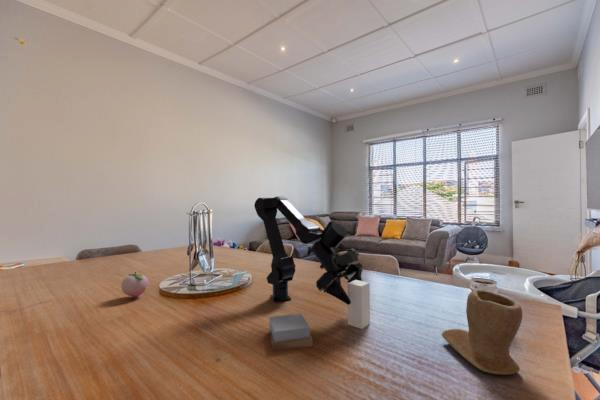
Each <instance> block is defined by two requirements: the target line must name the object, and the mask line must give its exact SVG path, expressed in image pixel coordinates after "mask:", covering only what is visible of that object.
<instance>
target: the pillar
mask: <svg viewBox="0 0 600 400" xmlns="http://www.w3.org/2000/svg"><path fill="white" fill-rule="evenodd" d="M370 291H371V290H370V282H368V281H363V280H362V281H359V280H354V281H352V282H349V283H348V282H347V296H348V297H349V299H350V301H351V304H349V305H348V304H347V323H348V325H349V326H351V327H355V328H358V329H361V330H363V329H365V328H366V327H367V326H369V325H371V307H370V306H371V305H370V304H371V301H370V298H371V297H370V295H371V294H370V293H371V292H370Z"/></svg>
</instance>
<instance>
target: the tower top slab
mask: <svg viewBox="0 0 600 400" xmlns="http://www.w3.org/2000/svg"><path fill="white" fill-rule="evenodd" d="M268 322H269V323H268V324H269V330H270V329H271V332H272V335H273V338H274V341H275V342H278V341H286V340H293V339H300V338H307V337H310V334H311V326H310V325H309V324H308V322H307V320H306V319H305V317H304V316H303V314H302V313H293V314H284V315H277V316H269V321H268Z"/></svg>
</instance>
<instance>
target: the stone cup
mask: <svg viewBox="0 0 600 400" xmlns="http://www.w3.org/2000/svg"><path fill="white" fill-rule="evenodd" d="M465 313H466V321H467V326H468V330H465V329H460V328H452V329H448V330H444V331H442V332H441V337H442V338H443V339H444V340H445V341H446V343H448V344H449V345H450V346H451V347H452V348H453V349H454V350H455V351H456V352H458V354H459V355H461V356H462V357H463V358H464V359H465V360H466V361H467V362H469V363H471V365H472V366H474V367H475V368H476V369H479V370H480V371H482V372H484V373H488V374H492V375H499V376H502V375H505V376H507V375H514V374H515V373H518V372H520V370H521V369H520V366H519V364H518V363H517V362H516V361H515V360H514V359H513V358H512V356H511V355H510V348H511V346H512V343H513V341H514V340H515V337H516V336H517V333H518V332H519V329H520V327H521V324H522V321H523V310H522V306H521V305H520V304H519V303H518V302H517V301H516V300H514V299H511V298H509V297H507V296H505V295H501V294H499V293H497V294H495V293H492V292H489V291H485V290H473V291H470V292H469V294H468V295H467V298H466V310H465Z"/></svg>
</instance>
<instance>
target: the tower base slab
mask: <svg viewBox="0 0 600 400" xmlns="http://www.w3.org/2000/svg"><path fill="white" fill-rule="evenodd" d="M269 330H270V331H269V333H270V339H271V340H270V341H271V342H270V343H271V350H272V351H279V350H290V349H297V348H308V347H309V348H310V347H313V346H314V345H313V344H314V343H313V341H314V340H313V337H312V335H311V333H310V337H307V338H300V339H293V340H286V341H278V342H275V341H274V338H273V335H272V332H271V329H270V328H269Z"/></svg>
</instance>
